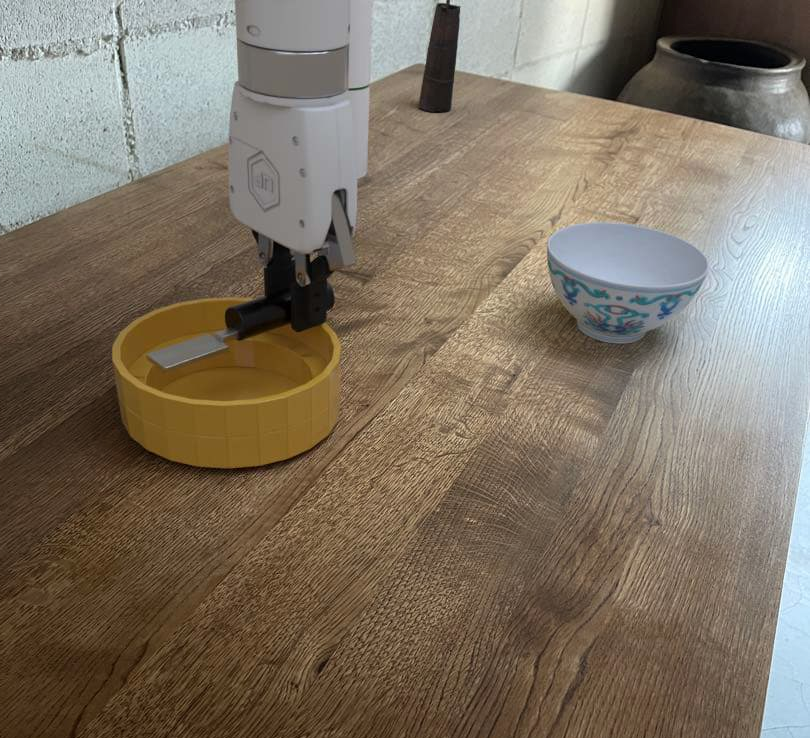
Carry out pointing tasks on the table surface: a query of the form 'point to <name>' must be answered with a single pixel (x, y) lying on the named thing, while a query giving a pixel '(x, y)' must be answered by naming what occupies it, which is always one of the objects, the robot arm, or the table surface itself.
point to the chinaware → (623, 277)
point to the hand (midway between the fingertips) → (295, 317)
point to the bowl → (227, 389)
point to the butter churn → (441, 59)
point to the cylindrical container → (360, 77)
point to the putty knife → (232, 330)
